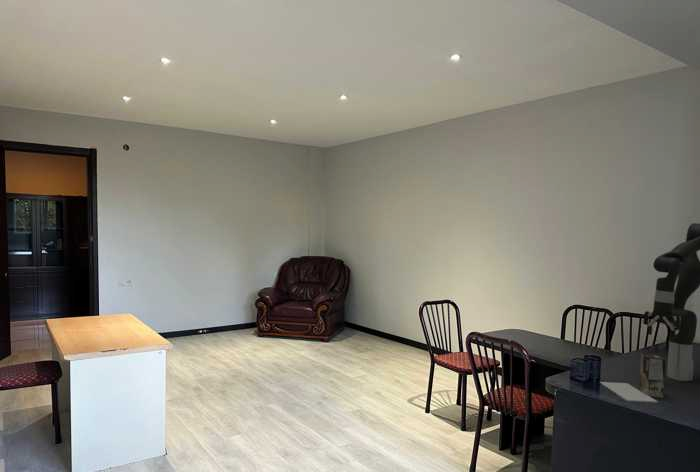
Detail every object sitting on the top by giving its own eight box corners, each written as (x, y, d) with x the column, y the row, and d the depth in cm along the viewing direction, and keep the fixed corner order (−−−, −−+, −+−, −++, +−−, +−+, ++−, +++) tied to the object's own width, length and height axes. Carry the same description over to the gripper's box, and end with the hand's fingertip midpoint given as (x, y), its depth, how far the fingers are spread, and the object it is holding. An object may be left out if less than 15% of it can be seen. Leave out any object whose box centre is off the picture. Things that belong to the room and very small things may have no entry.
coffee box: (663, 398, 201) (666, 360, 200) (647, 396, 202) (649, 358, 202) (654, 390, 210) (657, 354, 209) (638, 389, 211) (640, 352, 211)
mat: (627, 384, 217) (627, 383, 217) (657, 402, 195) (657, 401, 195) (599, 383, 217) (599, 381, 217) (627, 401, 195) (627, 400, 195)
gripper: (684, 303, 215) (681, 339, 215) (648, 298, 226) (645, 332, 226) (680, 304, 210) (676, 340, 210) (643, 298, 221) (640, 333, 221)
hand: (660, 336), depth 218 cm, fingers open, 8 cm apart
